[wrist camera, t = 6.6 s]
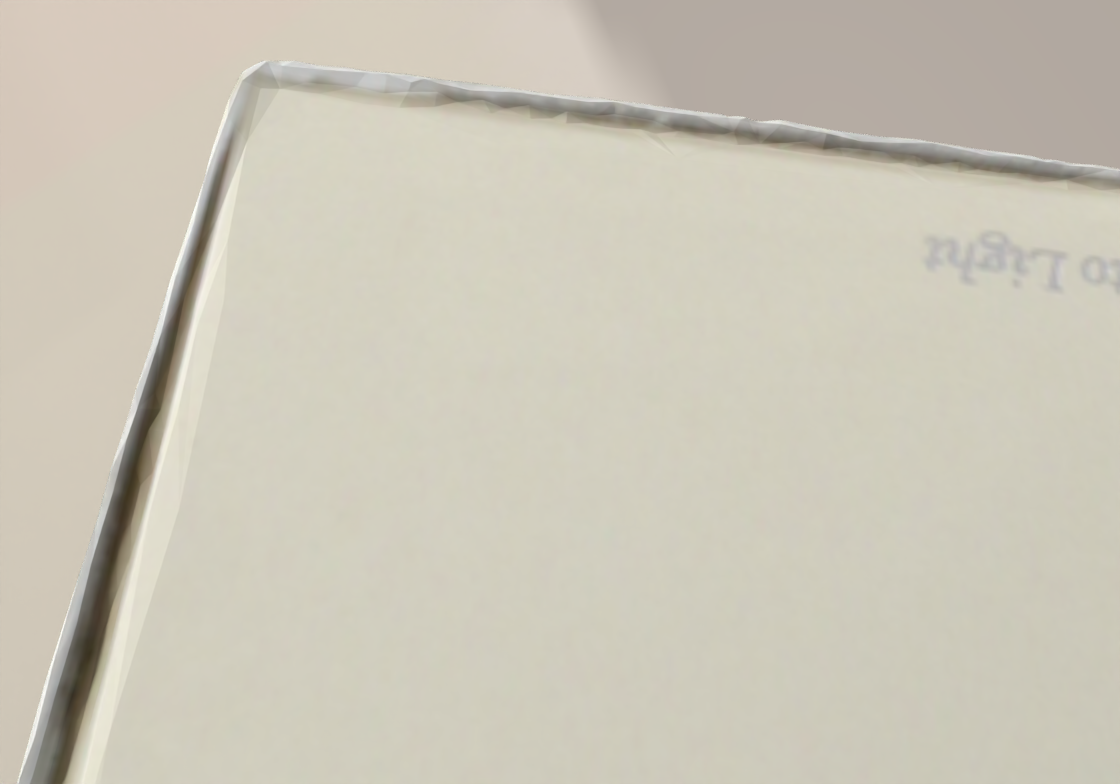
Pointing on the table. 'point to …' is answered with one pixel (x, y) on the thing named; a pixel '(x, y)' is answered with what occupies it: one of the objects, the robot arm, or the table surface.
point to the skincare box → (606, 458)
